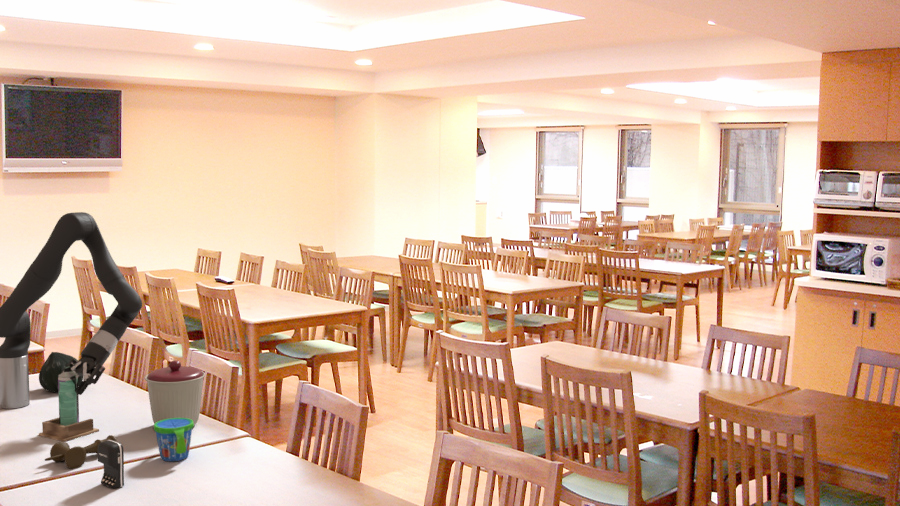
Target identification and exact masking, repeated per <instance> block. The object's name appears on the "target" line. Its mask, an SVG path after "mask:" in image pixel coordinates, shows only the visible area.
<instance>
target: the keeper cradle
mask: <svg viewBox="0 0 900 506" xmlns="http://www.w3.org/2000/svg"><path fill="white" fill-rule="evenodd" d="M41 426H42V431H41V432H39V433H38V436H41V437H43V436H44V438H48V439H52V440H54V441H55V440H56V441H59V440H60V441H59V442H66V443H67V442H69V441H72V440H74V439H75V438H76V439H79V438H82V437H84V436H87V435H91V433H92V434H95V433H98V432H99V431H100V429H99V428H95V427H94V419H93V418H89V419H85V420H82V421H79V422H77V423H74V424H71V425H67V426H64V425H60V424H59V417H57V418H53V419H50V420H46V421H42V425H41ZM97 431H98V432H97ZM94 432H95V433H94ZM81 436H82V437H81ZM78 437H79V438H78Z"/></svg>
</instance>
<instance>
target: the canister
mask: <svg viewBox="0 0 900 506" xmlns="http://www.w3.org/2000/svg"><path fill="white" fill-rule="evenodd" d="M205 377H206V372H204V371H203V370H201V369H199V368H197V367H194V366H186V365H184V366H183V365H182V364H181V361H179V360H172V361H170V363H168V366H166V367H161V368H157V369H154V370H152V371H150V372H149V373H147V374H146V375H144V380H145V382H146V383H147V392H148V399H149V405H150V411H151V417H152V422H153V425H154V424H155V423H156V422H158V421H160V420H164V419H169V418H188V419H191V420H193V424H194V426H196V425H197V423H198V420H199V419H200V418H199V417H200V414H201V413H200V412H201V405H202V395H203V385H204V384H203V383H204V378H205Z"/></svg>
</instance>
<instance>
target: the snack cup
mask: <svg viewBox="0 0 900 506" xmlns="http://www.w3.org/2000/svg"><path fill="white" fill-rule="evenodd" d="M194 427H195V425H194V424H193V420H191V419H188V418H169V419H164V420H160V421H158V422H156V423H155V424H154V423H153V430H154V432H155V435H156V442H157V446H158V451H159V457H160V459H161V460H163V461H164V462H180V461H183V460H184V459H186V458H188V457H189V454H190V446H191V441H192V433H193V428H194Z"/></svg>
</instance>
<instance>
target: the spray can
mask: <svg viewBox="0 0 900 506" xmlns="http://www.w3.org/2000/svg"><path fill="white" fill-rule="evenodd" d="M77 375H78V374H77V373H75V372H73V370H72V369H71V367H70V366H67V367H65V370H64V371H63V373H61V374H60V375H59V378H58V390H59V392H58V418H59V424H60V425H64V426H67V425H71V424H74V423H77V422H80V410H79V409H80V408H79V407H80V406H79V405H80V403H79V400H80V399H79V394H77V393H76V392H75V390H76V389H77V387H78V376H77Z"/></svg>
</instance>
